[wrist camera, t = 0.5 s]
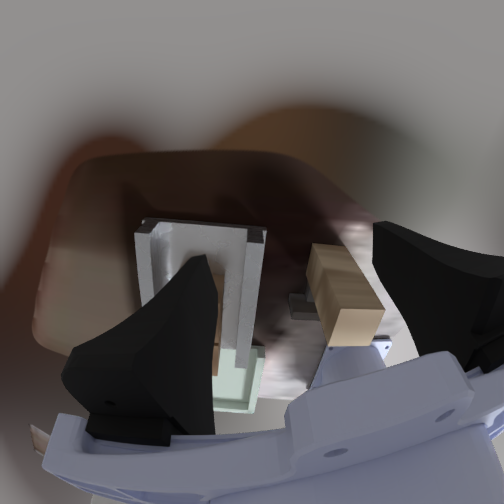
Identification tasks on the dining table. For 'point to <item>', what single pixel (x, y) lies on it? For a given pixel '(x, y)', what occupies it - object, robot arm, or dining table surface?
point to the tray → (238, 382)
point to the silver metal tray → (220, 262)
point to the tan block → (338, 298)
